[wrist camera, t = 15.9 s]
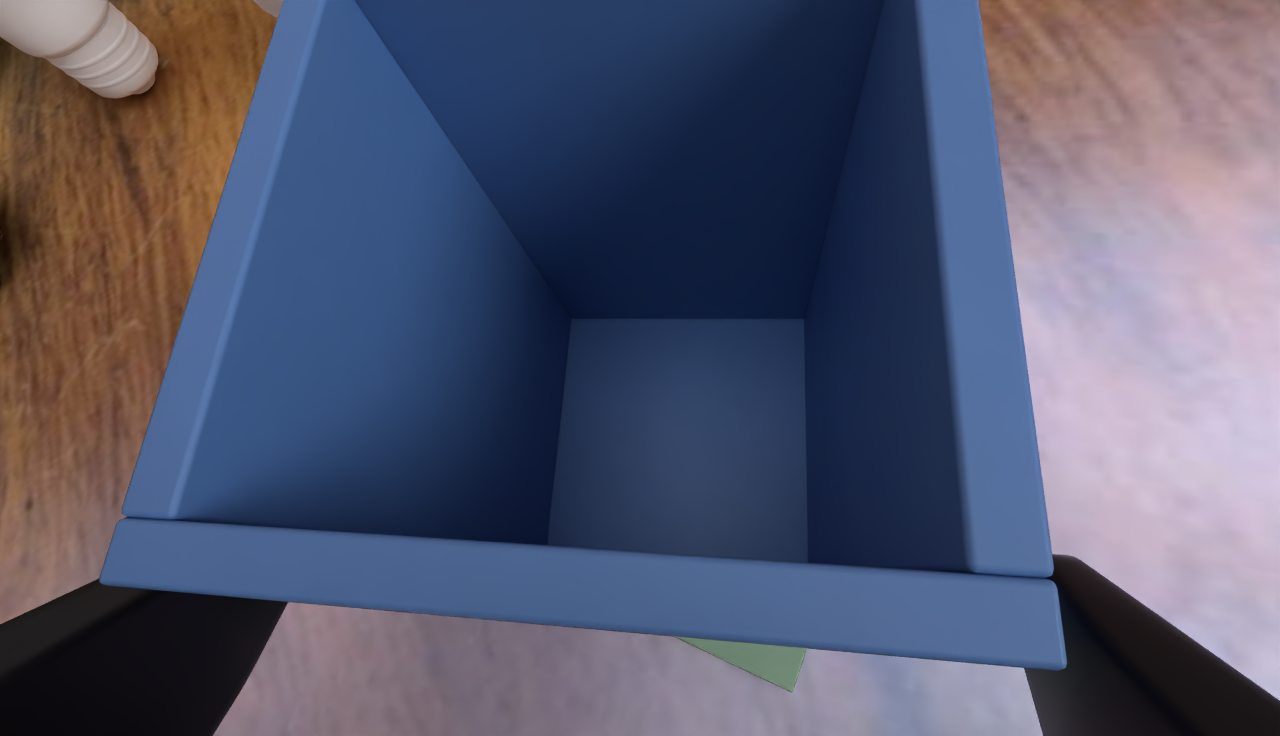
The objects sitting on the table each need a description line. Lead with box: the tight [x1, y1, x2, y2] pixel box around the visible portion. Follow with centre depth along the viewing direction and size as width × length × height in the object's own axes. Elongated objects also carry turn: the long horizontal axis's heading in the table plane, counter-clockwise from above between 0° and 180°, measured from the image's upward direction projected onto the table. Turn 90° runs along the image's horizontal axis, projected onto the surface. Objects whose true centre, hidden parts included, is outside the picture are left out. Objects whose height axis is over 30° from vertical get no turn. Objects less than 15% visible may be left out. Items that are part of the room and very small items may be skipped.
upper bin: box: [99, 0, 1067, 671], centre depth 10 cm, size 7×7×10 cm
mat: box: [674, 636, 807, 692], centre depth 14 cm, size 8×8×1 cm
